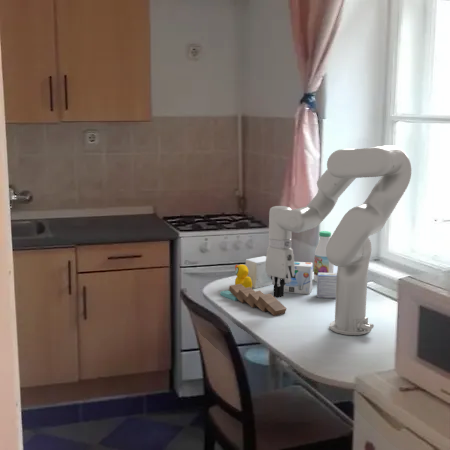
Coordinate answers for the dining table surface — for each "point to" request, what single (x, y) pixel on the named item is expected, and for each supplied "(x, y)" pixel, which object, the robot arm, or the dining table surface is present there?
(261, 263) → the skincare box
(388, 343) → the dining table surface
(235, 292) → the tile
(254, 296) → the tile
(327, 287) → the medicine box
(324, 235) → the milk bottle
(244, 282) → the duckling
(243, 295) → the tile
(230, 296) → the teal tile
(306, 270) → the light bulb box
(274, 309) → the tile
